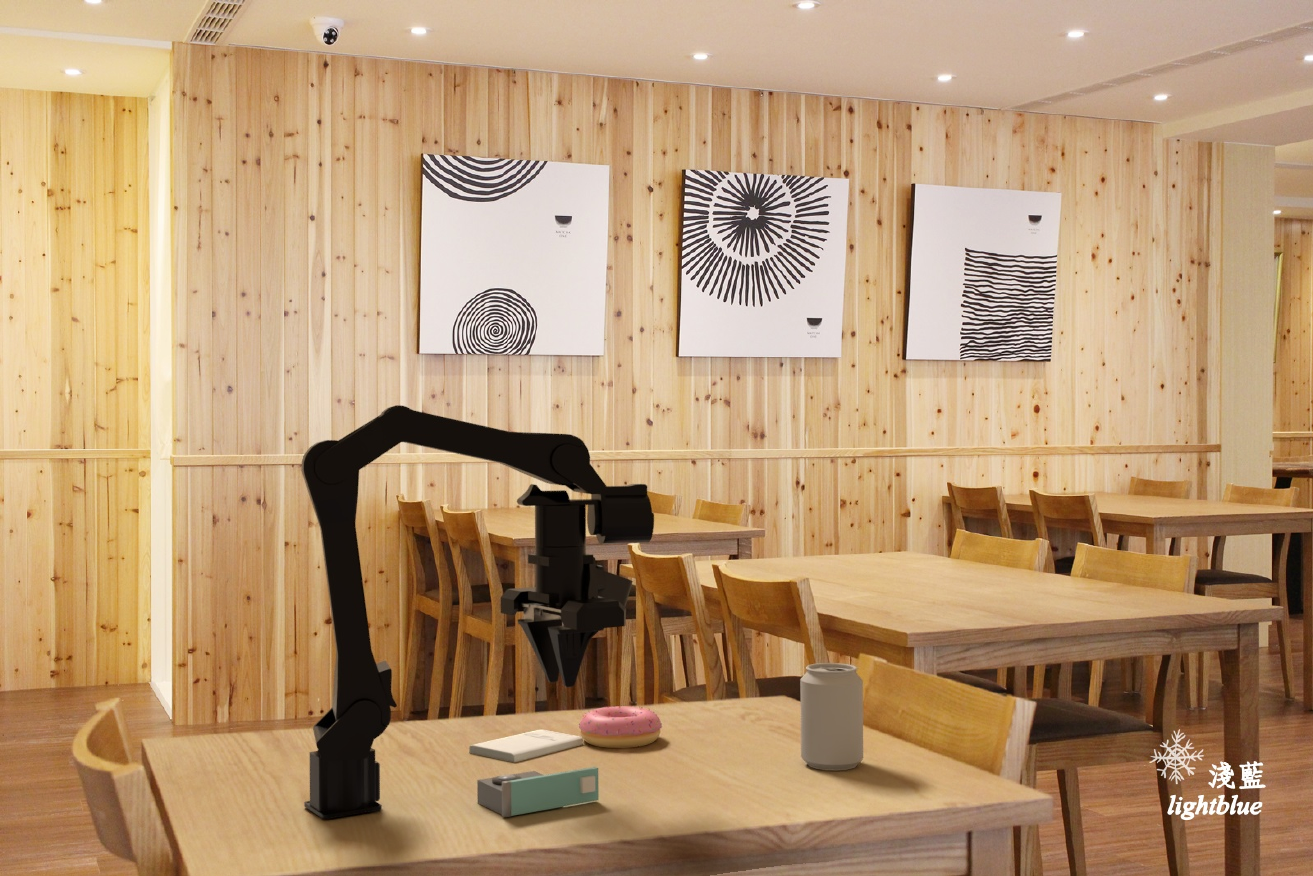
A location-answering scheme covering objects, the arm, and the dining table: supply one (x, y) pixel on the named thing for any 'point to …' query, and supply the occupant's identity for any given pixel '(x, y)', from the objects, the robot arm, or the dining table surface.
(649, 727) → the doughnut
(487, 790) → the camera body
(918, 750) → the dining table surface
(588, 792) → the side door
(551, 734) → the external hard drive
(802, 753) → the can
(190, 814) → the dining table surface
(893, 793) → the dining table surface
